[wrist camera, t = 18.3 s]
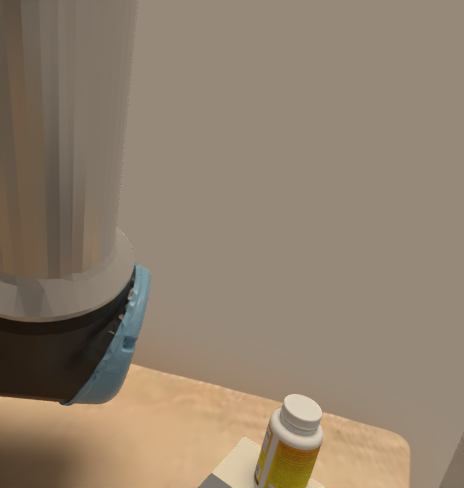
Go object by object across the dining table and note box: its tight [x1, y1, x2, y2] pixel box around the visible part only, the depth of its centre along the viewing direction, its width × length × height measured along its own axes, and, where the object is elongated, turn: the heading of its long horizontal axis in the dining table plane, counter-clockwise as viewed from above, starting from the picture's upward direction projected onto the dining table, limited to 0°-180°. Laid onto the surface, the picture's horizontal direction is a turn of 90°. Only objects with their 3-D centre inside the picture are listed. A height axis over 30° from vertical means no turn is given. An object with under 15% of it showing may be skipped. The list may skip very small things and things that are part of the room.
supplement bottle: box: [254, 394, 323, 488], centre depth 39 cm, size 5×5×10 cm
